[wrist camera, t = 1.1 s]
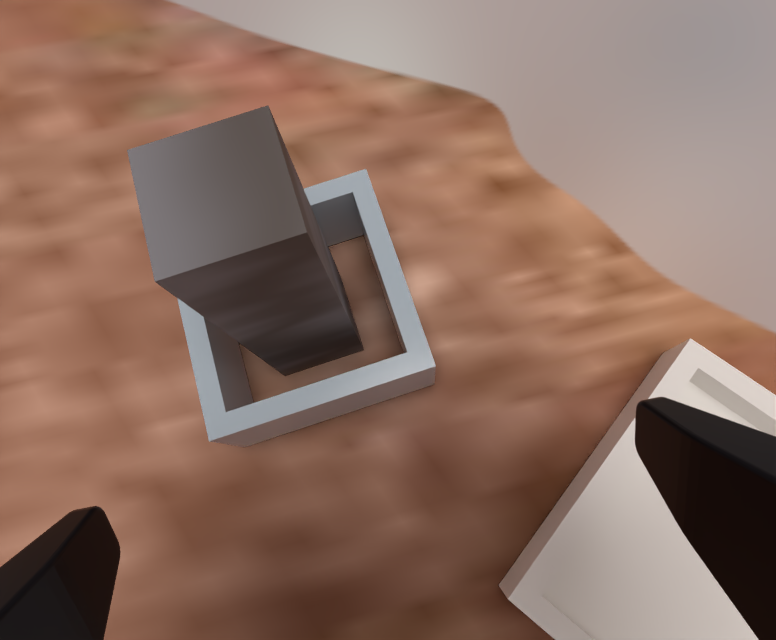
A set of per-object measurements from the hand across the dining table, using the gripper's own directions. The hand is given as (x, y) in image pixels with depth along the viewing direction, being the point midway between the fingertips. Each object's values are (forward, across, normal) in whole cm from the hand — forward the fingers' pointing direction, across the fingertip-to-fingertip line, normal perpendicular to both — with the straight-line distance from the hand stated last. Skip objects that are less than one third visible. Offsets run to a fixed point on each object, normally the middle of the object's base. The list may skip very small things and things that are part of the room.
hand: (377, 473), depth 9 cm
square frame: (+15, +2, +4) cm, 16 cm away
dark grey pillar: (+15, +2, +4) cm, 16 cm away
